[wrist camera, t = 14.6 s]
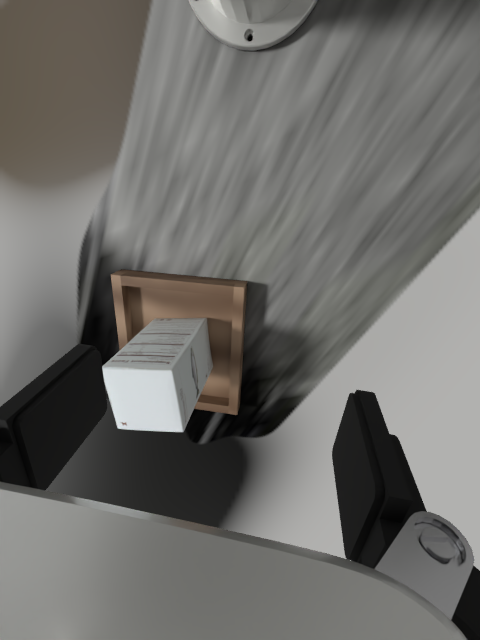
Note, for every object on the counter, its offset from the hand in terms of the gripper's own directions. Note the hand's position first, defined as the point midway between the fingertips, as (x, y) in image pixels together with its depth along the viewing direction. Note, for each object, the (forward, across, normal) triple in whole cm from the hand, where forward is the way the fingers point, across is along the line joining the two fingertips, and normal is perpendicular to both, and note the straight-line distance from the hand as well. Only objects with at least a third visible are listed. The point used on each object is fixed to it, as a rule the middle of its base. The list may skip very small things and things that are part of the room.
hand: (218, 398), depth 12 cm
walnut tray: (+26, +10, +14) cm, 31 cm away
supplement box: (+26, +9, +14) cm, 30 cm away
